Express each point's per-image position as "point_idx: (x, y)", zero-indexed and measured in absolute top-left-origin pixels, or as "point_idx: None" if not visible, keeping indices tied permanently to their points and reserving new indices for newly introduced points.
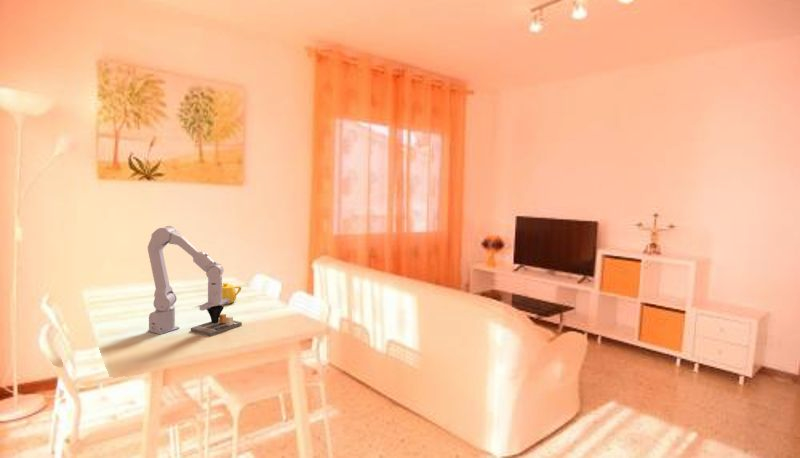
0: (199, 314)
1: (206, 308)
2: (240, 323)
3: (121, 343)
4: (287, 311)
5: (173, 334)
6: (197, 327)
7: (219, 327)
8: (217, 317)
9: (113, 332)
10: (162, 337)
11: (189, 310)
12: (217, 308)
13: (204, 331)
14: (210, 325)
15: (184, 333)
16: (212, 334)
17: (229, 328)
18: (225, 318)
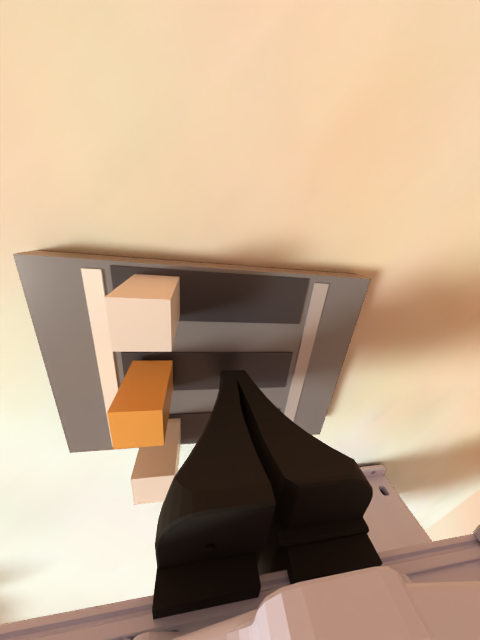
0: (91, 560)
1: (436, 553)
2: (39, 255)
3: (474, 469)
4: None
5: (369, 434)
6: (301, 417)
7: (252, 314)
8: (238, 400)
9: None
10: (409, 435)
11: (84, 606)
12: (300, 504)
13: (349, 338)
14: None
15: (347, 414)
16: (349, 274)
17: (189, 263)
18: (130, 381)
